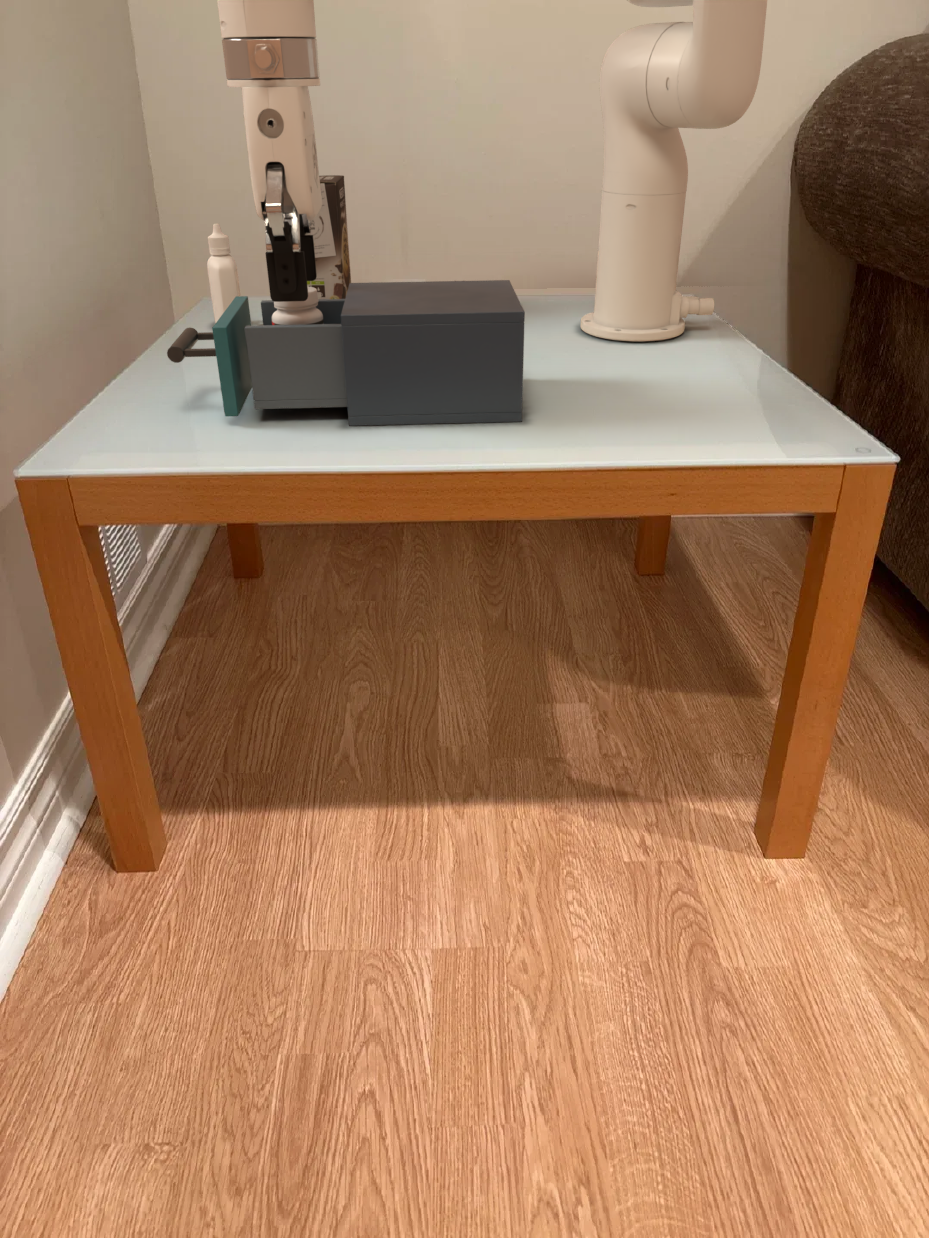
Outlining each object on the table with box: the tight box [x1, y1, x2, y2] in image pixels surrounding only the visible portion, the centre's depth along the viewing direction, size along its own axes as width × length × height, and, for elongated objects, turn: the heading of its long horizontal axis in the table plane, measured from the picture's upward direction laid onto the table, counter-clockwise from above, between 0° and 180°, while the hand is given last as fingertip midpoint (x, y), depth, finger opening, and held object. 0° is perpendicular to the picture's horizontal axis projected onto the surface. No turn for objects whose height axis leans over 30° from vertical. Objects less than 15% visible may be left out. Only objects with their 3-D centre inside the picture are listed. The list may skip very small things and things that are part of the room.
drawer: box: [166, 295, 348, 417], centre depth 86 cm, size 20×13×8 cm, turn 93°
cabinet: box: [341, 279, 526, 427], centre depth 87 cm, size 16×14×10 cm
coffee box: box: [305, 174, 352, 299], centre depth 119 cm, size 9×6×16 cm
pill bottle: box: [272, 287, 324, 325], centre depth 86 cm, size 5×5×8 cm
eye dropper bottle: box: [206, 223, 242, 325], centre depth 113 cm, size 4×6×12 cm
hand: (295, 289), depth 84 cm, fingers open, 8 cm apart
